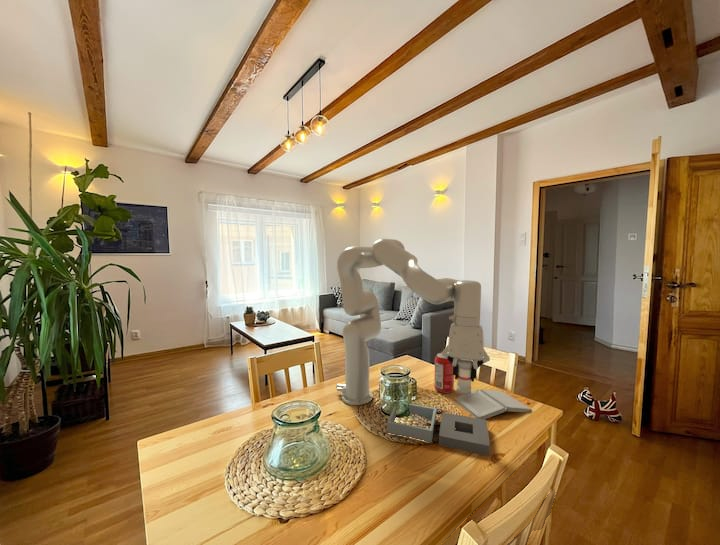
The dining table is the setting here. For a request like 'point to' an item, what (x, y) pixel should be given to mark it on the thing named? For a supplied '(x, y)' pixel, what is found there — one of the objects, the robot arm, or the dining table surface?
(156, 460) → the dining table surface
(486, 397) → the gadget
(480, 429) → the grey flat square block
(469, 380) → the cylinder
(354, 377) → the robot arm
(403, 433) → the parts tray
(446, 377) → the soda can
